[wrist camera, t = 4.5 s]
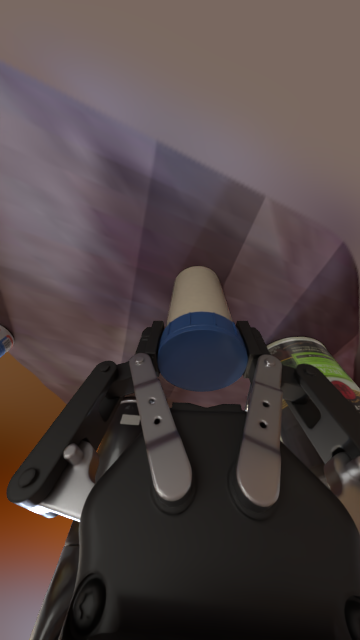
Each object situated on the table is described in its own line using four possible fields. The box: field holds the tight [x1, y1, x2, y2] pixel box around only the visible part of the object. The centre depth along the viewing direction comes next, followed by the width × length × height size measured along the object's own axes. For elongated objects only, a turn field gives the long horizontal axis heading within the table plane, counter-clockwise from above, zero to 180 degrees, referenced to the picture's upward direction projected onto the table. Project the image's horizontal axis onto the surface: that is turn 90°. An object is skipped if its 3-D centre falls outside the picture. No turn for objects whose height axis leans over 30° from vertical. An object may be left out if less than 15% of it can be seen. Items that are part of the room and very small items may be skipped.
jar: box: [165, 266, 233, 328], centre depth 16 cm, size 5×5×11 cm
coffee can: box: [267, 337, 360, 490], centre depth 21 cm, size 10×10×14 cm
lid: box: [157, 311, 248, 392], centre depth 12 cm, size 6×6×2 cm
